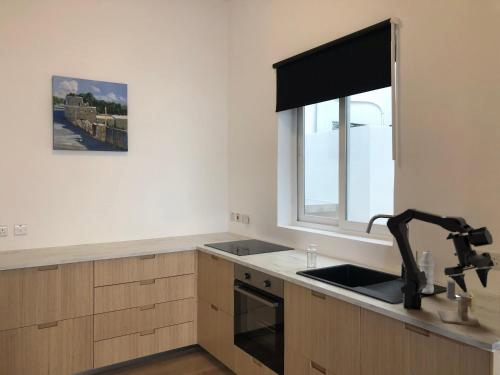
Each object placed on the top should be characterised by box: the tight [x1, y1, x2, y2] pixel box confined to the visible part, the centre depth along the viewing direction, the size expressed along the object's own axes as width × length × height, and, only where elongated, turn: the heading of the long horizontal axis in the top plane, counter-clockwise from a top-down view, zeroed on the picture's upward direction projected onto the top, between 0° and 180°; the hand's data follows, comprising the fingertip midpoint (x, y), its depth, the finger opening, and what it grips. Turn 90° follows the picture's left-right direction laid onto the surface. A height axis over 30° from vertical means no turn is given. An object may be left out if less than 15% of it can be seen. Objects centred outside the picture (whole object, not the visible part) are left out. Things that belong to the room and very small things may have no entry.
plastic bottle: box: [418, 250, 435, 295], centre depth 194 cm, size 6×7×20 cm
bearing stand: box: [437, 290, 481, 327], centre depth 160 cm, size 13×12×10 cm
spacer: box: [468, 292, 476, 313], centre depth 159 cm, size 1×6×6 cm, turn 162°
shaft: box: [445, 280, 477, 303], centre depth 160 cm, size 10×3×8 cm, turn 72°
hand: (475, 289), depth 155 cm, fingers open, 9 cm apart
